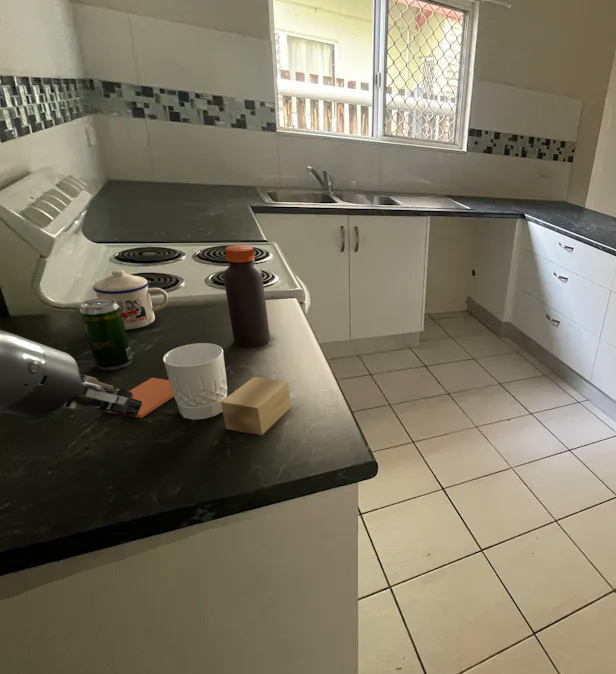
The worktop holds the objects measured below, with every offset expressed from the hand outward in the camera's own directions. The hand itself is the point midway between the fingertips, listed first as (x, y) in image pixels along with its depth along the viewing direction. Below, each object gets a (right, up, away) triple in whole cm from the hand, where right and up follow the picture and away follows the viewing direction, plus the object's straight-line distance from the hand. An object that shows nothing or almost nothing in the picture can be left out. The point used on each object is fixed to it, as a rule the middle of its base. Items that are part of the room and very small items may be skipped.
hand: (135, 408), depth 64 cm
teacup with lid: (-30, +13, +39) cm, 51 cm away
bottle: (-3, +9, +36) cm, 37 cm away
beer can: (-22, +5, +23) cm, 32 cm away
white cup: (+1, -2, +13) cm, 14 cm away
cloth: (-9, 0, +14) cm, 17 cm away
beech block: (+10, -3, +12) cm, 17 cm away
